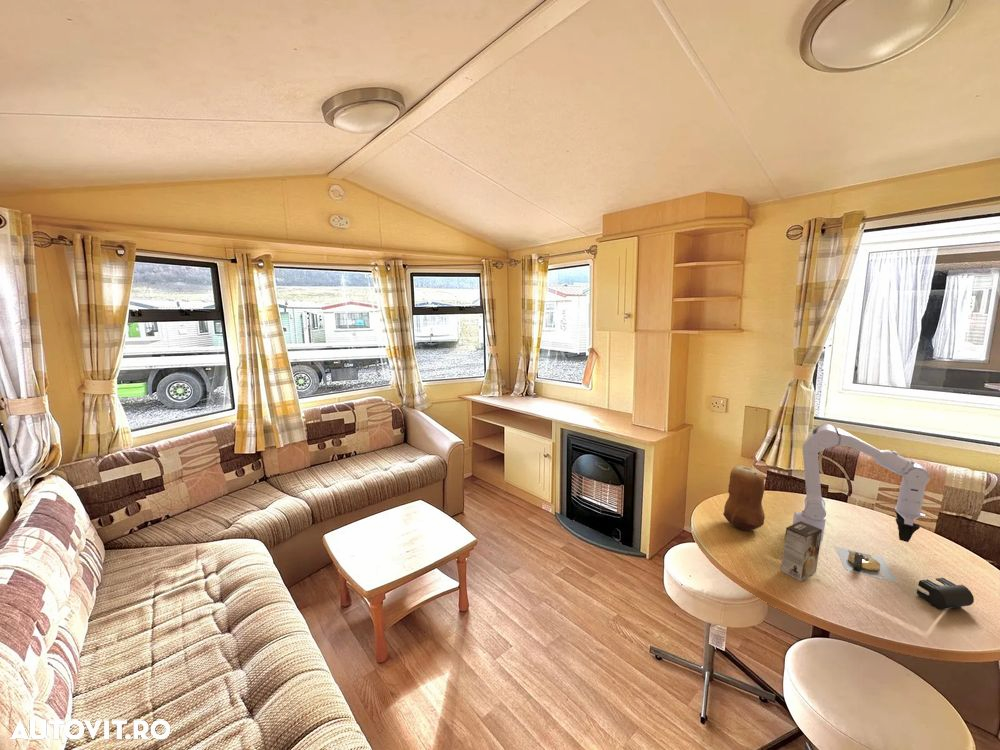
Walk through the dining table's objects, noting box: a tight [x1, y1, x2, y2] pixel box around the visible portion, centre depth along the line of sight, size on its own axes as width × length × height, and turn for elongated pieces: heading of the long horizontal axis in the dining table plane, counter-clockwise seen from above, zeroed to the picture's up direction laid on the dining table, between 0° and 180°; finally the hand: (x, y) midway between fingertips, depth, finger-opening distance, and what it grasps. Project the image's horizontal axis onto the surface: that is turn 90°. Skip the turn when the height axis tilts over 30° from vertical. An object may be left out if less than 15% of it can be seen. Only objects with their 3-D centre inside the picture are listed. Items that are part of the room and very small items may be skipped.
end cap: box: [916, 577, 975, 610], centre depth 117 cm, size 10×7×7 cm
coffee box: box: [780, 521, 822, 582], centre depth 131 cm, size 9×6×16 cm
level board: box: [835, 546, 899, 584], centre depth 135 cm, size 13×15×1 cm
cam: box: [848, 551, 880, 572], centre depth 134 cm, size 10×8×6 cm
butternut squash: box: [722, 465, 766, 531], centre depth 157 cm, size 14×13×25 cm
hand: (903, 535), depth 136 cm, fingers open, 7 cm apart
